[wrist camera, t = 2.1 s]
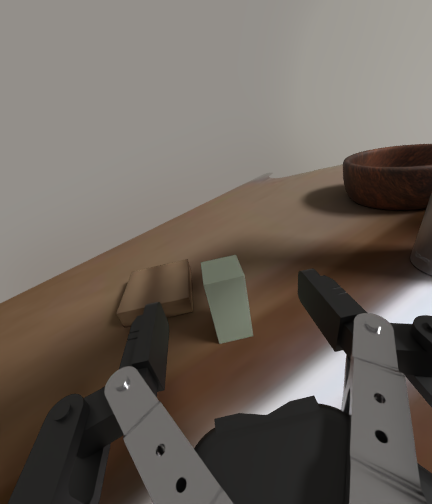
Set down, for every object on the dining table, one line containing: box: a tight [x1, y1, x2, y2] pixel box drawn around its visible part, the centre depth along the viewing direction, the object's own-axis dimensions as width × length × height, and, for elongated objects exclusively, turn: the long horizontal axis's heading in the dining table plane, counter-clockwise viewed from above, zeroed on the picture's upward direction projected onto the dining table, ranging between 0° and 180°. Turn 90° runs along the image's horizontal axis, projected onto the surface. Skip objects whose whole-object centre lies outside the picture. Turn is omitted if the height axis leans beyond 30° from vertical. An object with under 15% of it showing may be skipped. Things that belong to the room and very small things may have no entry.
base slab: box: [116, 259, 193, 327], centre depth 38 cm, size 11×11×3 cm
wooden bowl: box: [343, 144, 432, 210], centre depth 53 cm, size 25×25×10 cm
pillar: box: [201, 255, 253, 344], centre depth 27 cm, size 4×4×10 cm
